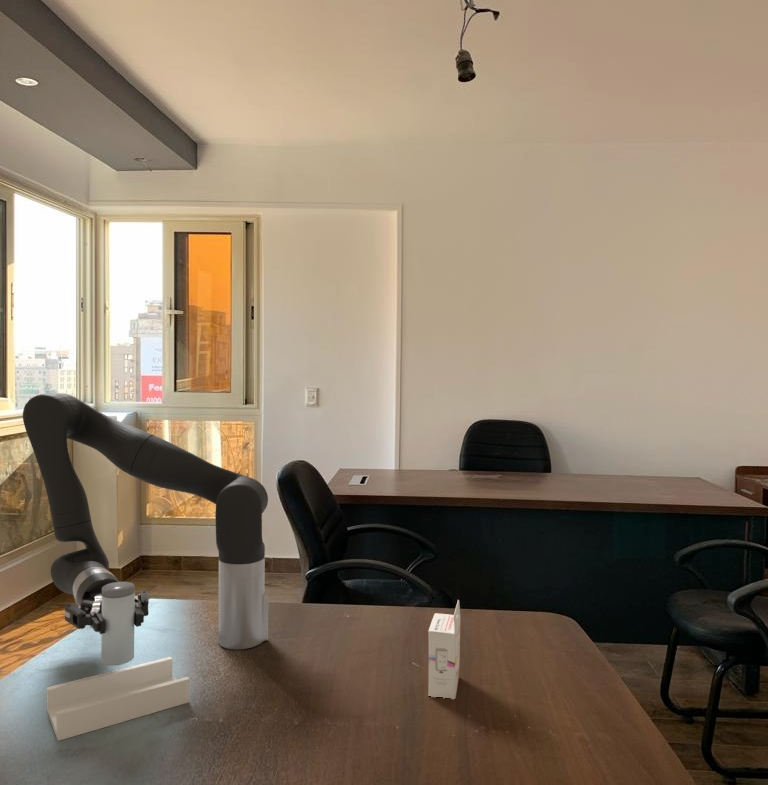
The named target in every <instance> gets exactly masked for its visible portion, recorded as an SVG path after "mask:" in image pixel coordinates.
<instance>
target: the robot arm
mask: <svg viewBox="0 0 768 785" xmlns="http://www.w3.org/2000/svg"><path fill="white" fill-rule="evenodd" d="M22 422H23V425H24V426H23V427H24V428H25V431H26V434H27V437H28V439H29V443H30V444H31V447H32V450H33V453H34V456H35V459H36V462H37V466H38V468H39V470H40V474H41V477H42V480H43V483H44V488H45V491H46V497H47V500H48V504H49V511H50V516H51V522H52V527H53V532H54V537H55V539H56V541H57V542H60V543H69V542H81V543H83V545H84V546H85V548H83V549H80V550H76V551H72V552H71V551H70V552H68V553H64V554H62V555H59V556H58V557H56V558H55V559H54V561H53V562H52V564H51V567H50V577H51V579H52V582H53V584H54V586H55V587H56V588H57V589H58V590H60V591H61V592H63V593H65V594H69V595H72V596H73V598H74V601H75V603H76V605H74V604H72V603H67V604H64V621H65V622H67V623H69V624H71V625H72V626H73V627H75V628H76V629H78V630H82V629H85V628H86V626H89V628H91V629H93V631H94V632H95V633H99V635H101V634H104V633H105V619H104V618H103V617H102V587H103V586H105V585H107V584H110V583H114V582H120V580H118V578H117V577H116V576H115V575H114V574H113V573H112V572H110V565H109V564H110V563H109V558H108V557H107V555H106V554H107V553H105V551H104V550H103V549H104V548H103V547H102V545H101V543H100V542H99V540H98V537H97V535H96V533H95V529H94V526H93V523H92V518H91V510H90V507H89V506H90V505H89V502H88V497H87V493H86V490H85V488H84V486H83V484H82V482H81V480H80V478H79V476H78V474H77V472H76V470H75V469H74V466H73V464H72V463H73V462H72V461H71V457H70V453H69V450H68V449H69V448H68V440H70V441H74V442H77V443H80V444H82V445H85V446H88V447H89V448H91V449H93V450H96V451H98V452H99V453H100V454H102V456H104V457H105V458H106V459H107V460H109V462H111V463H112V464H113V465H114V466H116V467H117V468H118V469H119V470H121V471H123V473H126V474H128V475H129V476H131V477H134V478H136V479H138V480H140V481H142V482H145V483H146V484H149V485H151V486H155V487H157V488H162V489H165V490H171V491H177V492H181V493H187V494H192V495H194V496H198V497H200V498H202V499H203V500H207V501H209V502H210V503H213V504H215V513H214V514H215V543H216V547H217V550H218V631H217V636H218V639H217V640H218V644H219V646H221V647H223V648H225V649H229V650H245V649H250V648H254V647H256V646H257V647H258V645H260V644H262V643H263V642H265V641H268V640H269V594H268V593H266V592H265V579H266V578H265V576H266V575H265V561H266V560H265V559H266V558H265V555H266V554H265V552H266V551H265V550H266V546H265V543H264V542H263V513H264V512H265V510H266V509H267V506H268V504H269V496H268V493H267V492H268V491H267V490H266V488H265V487H264V485H263V484H262V483H261V482H260V481H258V480H256V479H254V478H253V477H250V476H247V475H244V474H240V473H238V472H234V471H231V470H229V469H226V468H223V467H220V466H218V465H215V464H213V463H210V462H209V461H206V460H205V459H203V458H202V457H199V456H197V455H195V454H194V453H191V452H190V451H188V450H185V449H184V448H181V447H180V446H177V445H176V444H173V443H171V442H169V441H167V440H165V439H163V438H161V437H159V436H157V435H154V434H152V433H149V432H147V431H145V430H142V429H140V428H138V427H135V426H132V425H130V424H128V423H126V422H125V423H124V422H122V421H119V420H116V419H114V418H112V417H109V415H108V416H107V415H106V414H104V413H103V412H101V411H99V410H97V409H96V408H93V407H92V406H91V405H89V404H87V403H85V402H84V401H82V400H81V399H80V398H77V397H75V396H73V395H70V394H69V393H64V392H57V393H55V392H54V393H41V394H36V395H35V396H32V397H30V398H29V400H28V401H27V402H26V403H25V405H24V408H23V411H22ZM149 602H150V600H149V592H148V591H147V590H141V591H140V593H138V594H137V595H135V611H134V627H141V626H142V623H144V621H145V617H148V616H149Z"/></svg>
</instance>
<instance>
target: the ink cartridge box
mask: <svg viewBox="0 0 768 785" xmlns="http://www.w3.org/2000/svg"><path fill="white" fill-rule="evenodd" d="M427 632H428V633H427V634H428V692H427V693H428V694H427V697H428V696H431V697H430V698H436V697H443V698H442V699H445V698H451V699H450V700H456V698H457V692H458V684H459V678H460V656H461V655H460V651H461V650H460V649H461V648H460V647H461V644H460V643H461V606H460V600H459V599H457V603H456V606H455V610H454V614H446V613H437V612H436V613H434V614H433V617H432V619H431V623H430V626H429V628H428V631H427Z"/></svg>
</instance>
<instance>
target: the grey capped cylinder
mask: <svg viewBox="0 0 768 785" xmlns="http://www.w3.org/2000/svg"><path fill="white" fill-rule="evenodd" d="M135 585H136V584H135V583H133V582H130V581H119V582H114V583H110V584H107V585H105V586H103V587H102V617H103V618H104V619H105V633H104V634H100V636H101V637H100V638H101V644H100V645H101V647H100V648H101V650H100V652H101V654H100V657H101V658H100V662H101V664H102V665H105V666H110V667H111V666H120V665H125V664H127V663H130V662H132V661H133V660H134V658H135V624H134V611H135V596H136V591H135V590H136V588H135V587H136V586H135Z"/></svg>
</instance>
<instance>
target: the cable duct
mask: <svg viewBox="0 0 768 785" xmlns="http://www.w3.org/2000/svg"><path fill="white" fill-rule="evenodd" d="M189 703H190V678H189V676H184V677H181V678H177V679H176V678H175V677H174V675H173V658H172V656H167V657H162V658H160V659H155V660H151V661H148V662H144V663H143V662H142V663H140V664H136V665H132V666H128V667H125V668H120V669H116V670H112V671H108V672H104V673H100V674H97V675H90V676H88V677H84V678H79V679H76V680H72V681H68V682H64V683H59V684H55V685H52V686H48V687H46V713H47V715H48V718H49V720H50V723H51V726H52V729H53V732H54V734H55V737H56V740H57V742H58V741H59V742H60V741H62V740H66V739H69V738H73V737H77V736H79V735H83V734H86V733H89V732H93V731H96V730H100V729H104V728H107V727H110V726H115V725H117V724H120V723H124V722H128V721H131V720H133V719H137V718H140V717H144V716H147V715H151V714H154V713H157V712H162V711H165V710H167V709H170V708H174V707H178V706H181V705H182V706H183V705H185V704H189Z"/></svg>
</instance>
